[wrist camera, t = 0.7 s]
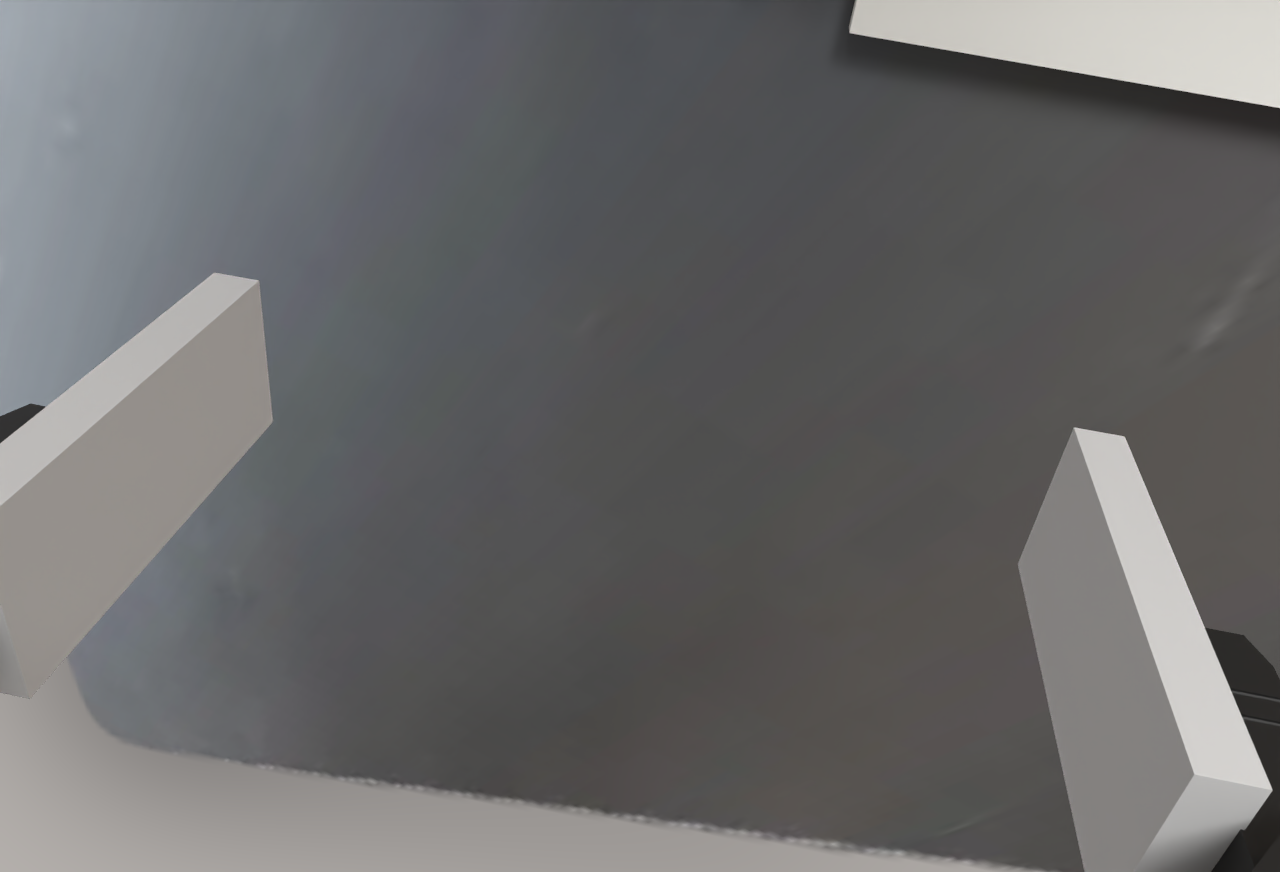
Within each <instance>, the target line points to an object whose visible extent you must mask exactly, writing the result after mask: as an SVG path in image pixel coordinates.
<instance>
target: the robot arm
mask: <svg viewBox="0 0 1280 872" xmlns="http://www.w3.org/2000/svg"><path fill="white" fill-rule="evenodd" d="M272 422H273V417H272V407H271V397H270V386H269V376H268V366H267V356H266V346H265V336H264V326H263V316H262V306H261V295H260V285H259V281H258V280H253V279H247V278H242V277H236V276H231V275H225V274H220V273H213V274H212V275H211V276H210V277H208V278H207V279H206V280H204V281H203V282H202V283H201V284H199V285H198V286H197V287H196V288H194V289H193V290H192V291H191V292H189V293H188V294H187V295H186V296H184V297H183V298H182V299H181V300H179V301H178V302H177V303H176V304H174V305H173V306H172V307H171V308H169V309H168V310H167V311H166V312H164V313H163V314H162V315H161V316H159V317H158V318H157V319H156V320H154V321H153V322H152V323H151V324H149V325H148V326H147V327H146V328H144V329H143V330H142V331H141V332H139V333H138V334H137V335H136V336H134V337H133V338H132V339H131V340H129V341H128V342H127V343H126V344H124V345H123V346H122V347H120V348H119V349H118V350H117V351H115V352H114V353H113V354H112V355H110V356H109V357H108V358H107V359H105V360H104V361H103V362H102V363H100V364H99V365H98V366H97V367H95V368H94V369H93V370H92V371H90V372H89V373H88V374H87V375H85V376H84V377H83V378H82V379H80V380H79V381H78V382H77V383H75V384H74V385H73V386H72V387H70V388H69V389H68V390H67V391H65V392H64V393H63V394H62V395H60V396H59V397H58V398H57V399H55V400H54V401H53V402H52V403H50V404H49V405H48V406H47V407H45V406H40V405H35V404H28V405H26V406H24V407H21V408H19V409H17V410H14V411H12V412H10V413H7V414H5V415H2V416H0V693H5V694H10V695H14V696H19V697H23V698H28V699H30V698H31V697H32V696H33V695H34V694H35V692H36V691H37V690H38V689H39V688H40V687H41V685H43V683H44V682H45V681H46V680H47V679H48V678H49V677H50V675H51V674H52V673H53V672H54V671H55V670H56V669H57V667H58V666H59V665H60V664H61V663H62V662H63V661H64V659H65V658H66V657H67V656H68V655H69V654H70V653H71V651H72V650H73V649H74V648H75V647H76V646H77V645H78V643H79V642H80V641H81V640H82V639H83V638H84V637H85V636H86V634H87V633H88V632H89V631H90V630H91V629H92V628H93V626H94V625H95V624H96V623H97V622H98V621H99V620H100V618H101V617H102V616H103V615H104V614H105V613H106V612H107V610H108V609H109V608H110V607H111V606H112V605H113V604H114V602H115V601H116V600H117V599H118V598H119V597H120V596H121V594H122V593H123V592H124V591H125V590H126V589H127V588H128V586H129V585H130V584H131V583H132V582H133V581H134V580H135V579H136V577H137V576H138V575H139V574H140V573H141V572H142V571H143V569H144V568H145V567H146V566H147V565H148V564H149V563H150V561H151V560H152V559H153V558H154V557H155V556H156V555H157V553H158V552H159V551H160V550H161V549H162V548H163V547H164V545H165V544H166V543H167V542H168V541H169V540H170V539H171V537H172V536H173V535H174V534H175V533H176V532H177V531H178V529H179V528H180V527H181V526H182V525H183V524H184V523H185V522H186V520H187V519H188V518H189V517H190V516H191V515H192V514H193V512H194V511H195V510H196V509H197V508H198V507H199V506H200V504H201V503H202V502H203V501H204V500H205V499H206V498H207V496H208V495H209V494H210V493H211V492H212V491H213V490H214V488H215V487H216V486H217V485H218V484H219V483H220V482H221V480H222V479H223V478H224V477H225V476H226V475H227V474H228V472H229V471H230V470H231V469H232V468H233V467H234V466H235V465H236V463H237V462H238V461H239V460H240V459H241V458H242V457H243V455H244V454H245V453H246V452H247V451H248V450H249V449H250V447H251V446H252V445H253V444H254V443H255V442H256V441H257V439H258V438H259V437H260V436H261V435H262V434H263V433H264V431H265V430H266V429H267V428H268V427H269V426H270V425H271V423H272ZM1018 567H1019V571H1020V576H1021V581H1022V585H1023V590H1024V594H1025V599H1026V604H1027V608H1028V613H1029V617H1030V622H1031V627H1032V631H1033V636H1034V640H1035V645H1036V650H1037V654H1038V659H1039V663H1040V668H1041V673H1042V677H1043V682H1044V686H1045V691H1046V696H1047V700H1048V705H1049V709H1050V714H1051V719H1052V723H1053V728H1054V732H1055V737H1056V742H1057V746H1058V751H1059V755H1060V760H1061V765H1062V769H1063V774H1064V778H1065V783H1066V788H1067V792H1068V797H1069V801H1070V806H1071V811H1072V815H1073V820H1074V824H1075V829H1076V834H1077V838H1078V843H1079V847H1080V852H1081V857H1082V861H1083V866H1084V870H1085V872H1280V679H1279V677H1278V675H1277V673H1276V671H1275V669H1274V667H1273V666H1272V665H1271V664H1270V663H1269V662H1268V661H1267V660H1266V659H1265V657H1264V656H1263V655H1262V654H1261V653H1260V652H1259V651H1258V650H1257V649H1256V648H1255V647H1254V646H1253V645H1252V644H1251V643H1250V642H1249V641H1248V639H1247V638H1246V637H1245V636H1244V635H1239V634H1234V633H1229V632H1224V631H1219V630H1213V629H1208V628H1205V627H1204V625H1203V623H1202V620H1201V618H1200V615H1199V613H1198V611H1197V608H1196V606H1195V604H1194V601H1193V599H1192V596H1191V594H1190V592H1189V589H1188V587H1187V584H1186V582H1185V580H1184V577H1183V575H1182V573H1181V570H1180V568H1179V565H1178V563H1177V561H1176V558H1175V556H1174V553H1173V551H1172V549H1171V546H1170V544H1169V541H1168V539H1167V537H1166V534H1165V532H1164V530H1163V527H1162V525H1161V522H1160V520H1159V518H1158V515H1157V513H1156V510H1155V508H1154V506H1153V503H1152V501H1151V498H1150V496H1149V494H1148V491H1147V489H1146V487H1145V484H1144V482H1143V479H1142V477H1141V475H1140V472H1139V470H1138V467H1137V465H1136V463H1135V460H1134V458H1133V456H1132V453H1131V451H1130V448H1129V446H1128V444H1127V441H1126V439H1125V437H1124V436H1118V435H1113V434H1107V433H1102V432H1096V431H1091V430H1085V429H1080V428H1073V431H1072V433H1071V436H1070V438H1069V441H1068V443H1067V445H1066V448H1065V450H1064V453H1063V455H1062V458H1061V460H1060V463H1059V465H1058V467H1057V470H1056V472H1055V475H1054V477H1053V480H1052V482H1051V484H1050V487H1049V489H1048V492H1047V494H1046V497H1045V499H1044V502H1043V504H1042V506H1041V509H1040V511H1039V514H1038V516H1037V519H1036V521H1035V523H1034V526H1033V528H1032V531H1031V533H1030V536H1029V538H1028V540H1027V543H1026V545H1025V548H1024V550H1023V553H1022V555H1021V558H1020V560H1019V562H1018Z"/></svg>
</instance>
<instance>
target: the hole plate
mask: <svg viewBox="0 0 1280 872" xmlns="http://www.w3.org/2000/svg"><path fill="white" fill-rule="evenodd" d="M849 33H852V34H858V35H863V36H869V37H875V38H881V39H886V40H892V41H898V42H904V43H909V44H915V45H921V46H927V47H932V48H938V49H944V50H950V51H955V52H961V53H967V54H973V55H978V56H984V57H990V58H996V59H1001V60H1007V61H1013V62H1019V63H1024V64H1030V65H1036V66H1042V67H1047V68H1053V69H1059V70H1065V71H1070V72H1076V73H1082V74H1087V75H1093V76H1099V77H1105V78H1110V79H1116V80H1122V81H1128V82H1133V83H1139V84H1145V85H1151V86H1156V87H1162V88H1168V89H1174V90H1179V91H1185V92H1191V93H1197V94H1202V95H1208V96H1214V97H1220V98H1225V99H1231V100H1237V101H1243V102H1248V103H1254V104H1260V105H1266V106H1271V107H1277V108H1280V0H855V2H854V7H853V11H852V15H851V20H850V24H849Z"/></svg>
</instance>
